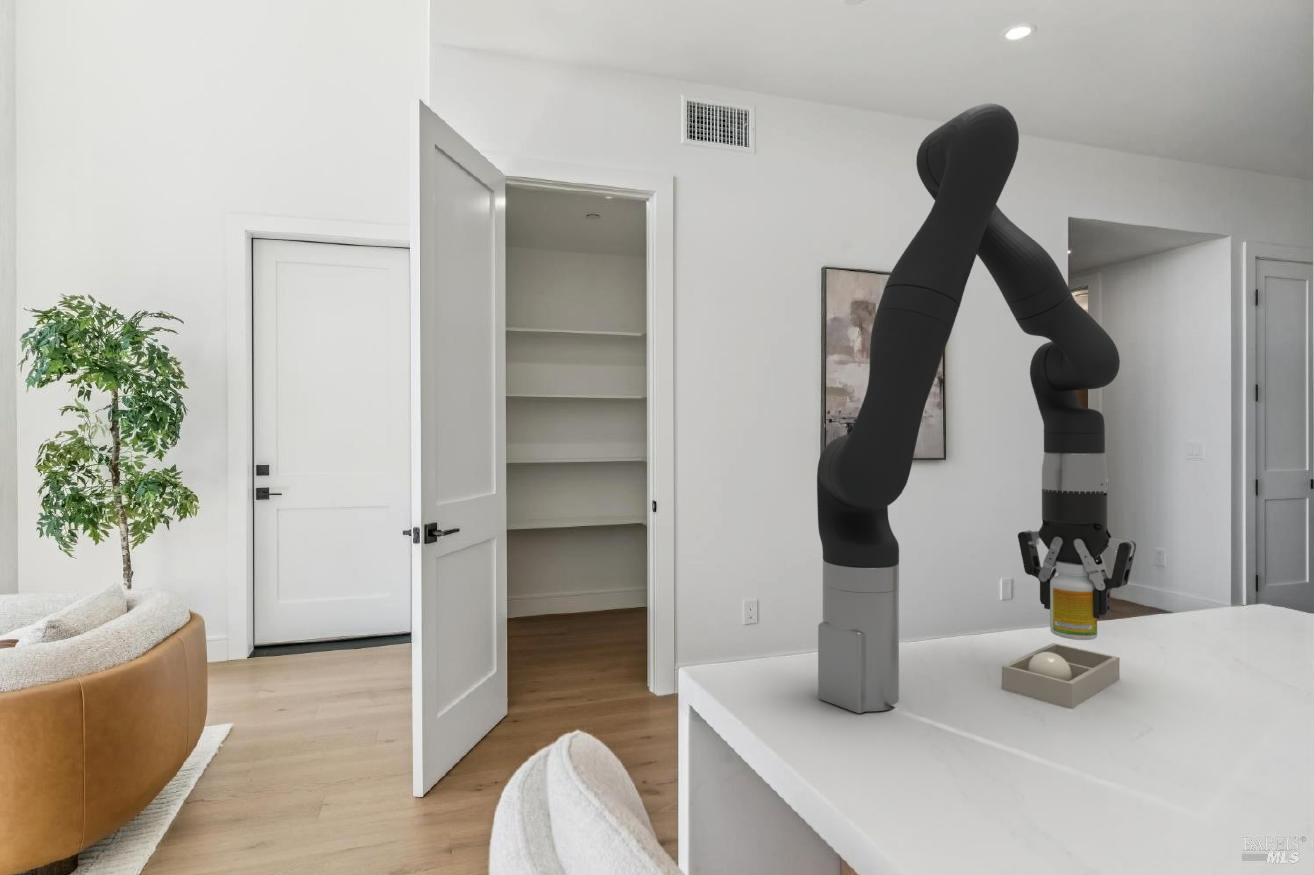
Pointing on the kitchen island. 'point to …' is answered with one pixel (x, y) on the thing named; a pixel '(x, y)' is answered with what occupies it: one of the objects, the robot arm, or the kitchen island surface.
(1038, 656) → the egg
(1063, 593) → the supplement bottle
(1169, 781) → the kitchen island surface
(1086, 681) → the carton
